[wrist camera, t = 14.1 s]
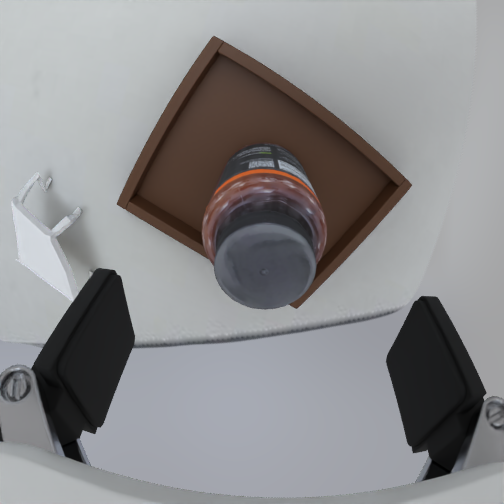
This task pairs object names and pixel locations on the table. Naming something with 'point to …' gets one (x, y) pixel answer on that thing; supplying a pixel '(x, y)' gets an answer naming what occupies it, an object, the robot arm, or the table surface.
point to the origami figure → (43, 244)
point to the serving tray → (249, 132)
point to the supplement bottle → (264, 227)
